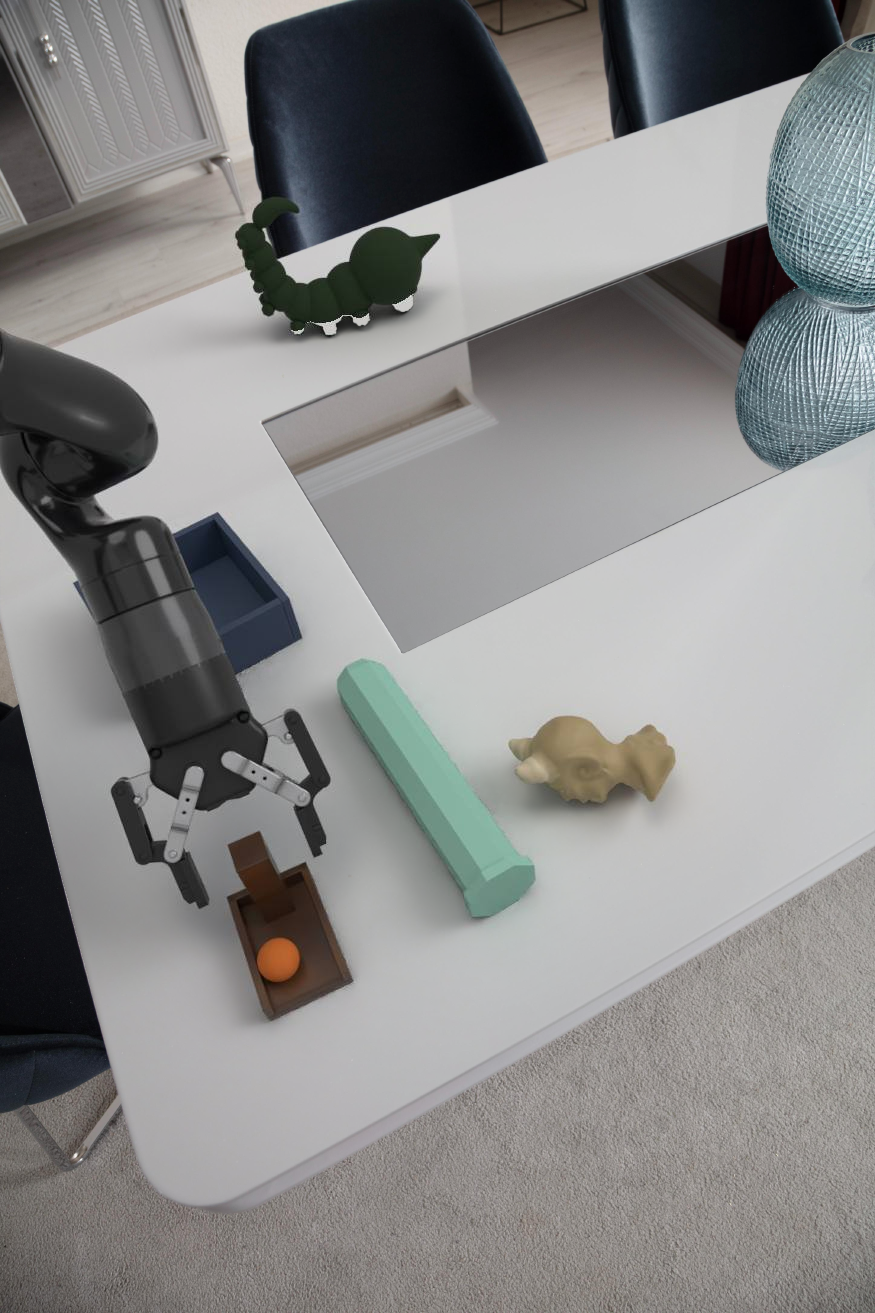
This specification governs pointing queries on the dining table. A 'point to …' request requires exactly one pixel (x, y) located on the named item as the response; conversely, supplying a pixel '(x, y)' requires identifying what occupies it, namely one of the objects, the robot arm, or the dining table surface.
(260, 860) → the scoop
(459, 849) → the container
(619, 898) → the dining table surface
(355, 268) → the toy figurine
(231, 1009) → the dining table surface
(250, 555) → the tote
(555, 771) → the tan toy creature
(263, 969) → the toy ball
